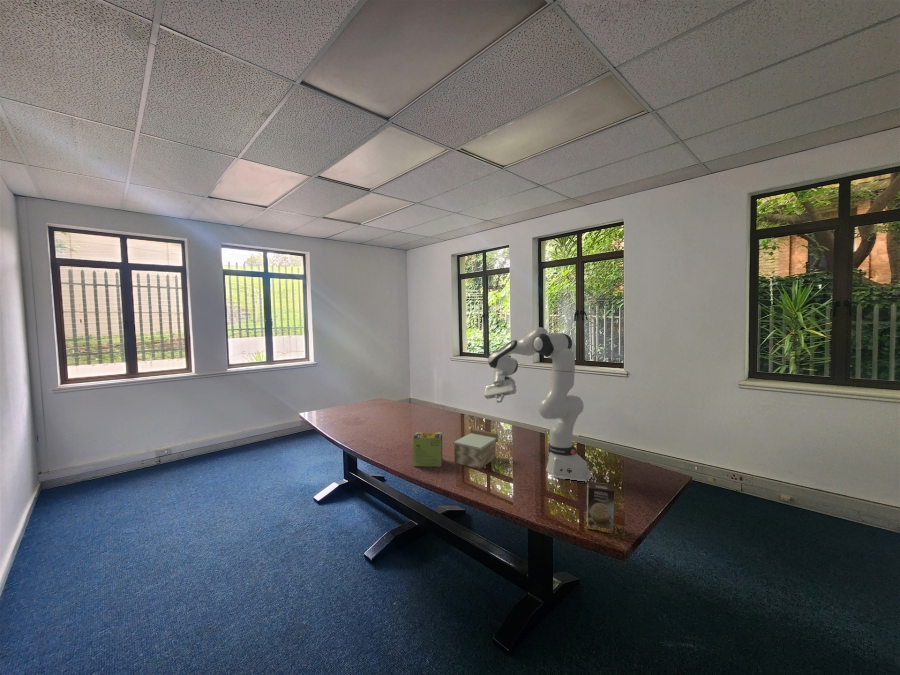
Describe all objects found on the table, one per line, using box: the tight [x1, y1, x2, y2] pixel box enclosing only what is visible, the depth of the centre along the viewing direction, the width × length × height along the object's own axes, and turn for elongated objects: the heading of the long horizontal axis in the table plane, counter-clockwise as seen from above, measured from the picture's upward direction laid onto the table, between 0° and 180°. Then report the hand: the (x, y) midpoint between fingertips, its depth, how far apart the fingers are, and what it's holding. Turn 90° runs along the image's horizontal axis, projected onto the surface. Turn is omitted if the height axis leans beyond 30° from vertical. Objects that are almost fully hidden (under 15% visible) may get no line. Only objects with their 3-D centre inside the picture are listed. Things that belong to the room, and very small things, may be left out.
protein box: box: [412, 431, 443, 467], centre depth 196 cm, size 10×15×16 cm
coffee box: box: [585, 480, 615, 531], centre depth 134 cm, size 9×6×16 cm
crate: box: [453, 441, 497, 470], centre depth 199 cm, size 16×18×10 cm
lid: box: [453, 428, 499, 450], centre depth 199 cm, size 17×21×4 cm
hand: (499, 402), depth 211 cm, fingers closed
